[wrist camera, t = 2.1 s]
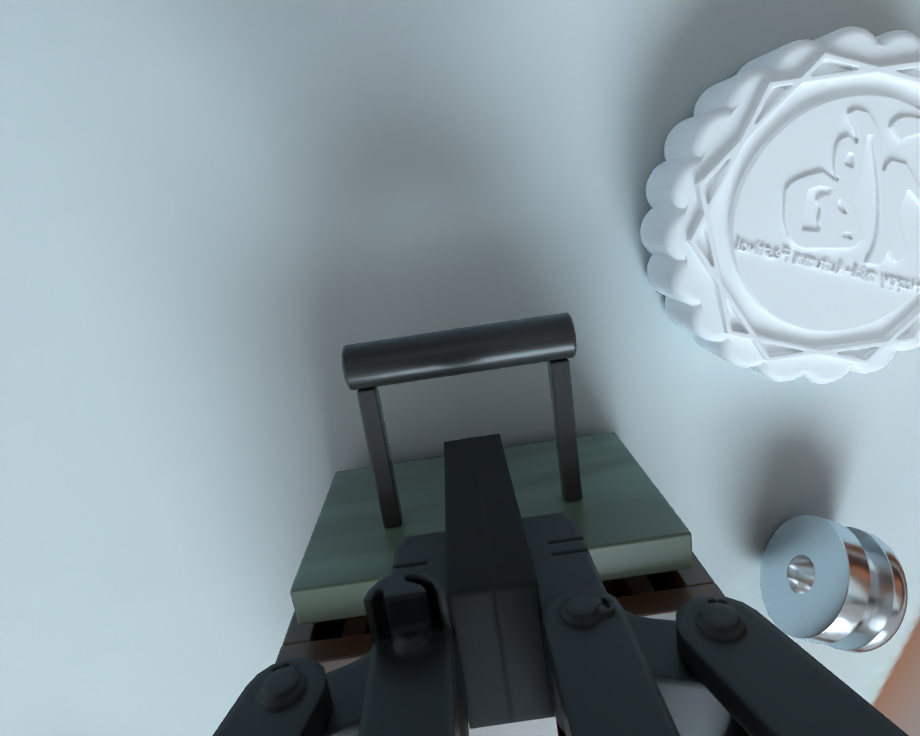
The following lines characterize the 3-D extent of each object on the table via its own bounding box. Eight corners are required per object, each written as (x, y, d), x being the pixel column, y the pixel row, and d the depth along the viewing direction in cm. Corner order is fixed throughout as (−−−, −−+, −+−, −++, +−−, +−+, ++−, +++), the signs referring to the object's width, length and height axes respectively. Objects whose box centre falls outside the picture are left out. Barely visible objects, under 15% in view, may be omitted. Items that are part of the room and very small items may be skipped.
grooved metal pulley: (793, 494, 27) (871, 558, 22) (851, 511, 27) (940, 579, 22) (745, 586, 28) (808, 666, 23) (801, 602, 28) (875, 685, 23)
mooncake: (995, 91, 22) (1095, 71, 19) (870, 390, 25) (937, 419, 22) (693, 10, 21) (742, -27, 18) (601, 332, 24) (627, 353, 21)
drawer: (303, 325, 23) (236, 386, 15) (602, 280, 23) (683, 319, 15) (396, 748, 29) (380, 946, 21) (636, 713, 28) (708, 899, 21)
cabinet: (333, 499, 26) (272, 668, 17) (624, 456, 26) (730, 601, 17) (395, 778, 30) (375, 1038, 21) (645, 742, 30) (740, 987, 21)
